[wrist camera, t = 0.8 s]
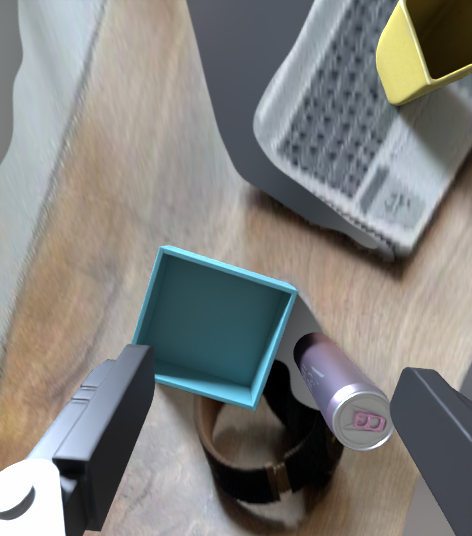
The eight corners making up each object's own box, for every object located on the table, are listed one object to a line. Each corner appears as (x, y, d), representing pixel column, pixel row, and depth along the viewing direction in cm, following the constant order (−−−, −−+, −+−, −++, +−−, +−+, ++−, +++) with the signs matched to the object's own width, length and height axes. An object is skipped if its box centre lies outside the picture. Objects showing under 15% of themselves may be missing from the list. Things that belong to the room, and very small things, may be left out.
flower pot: (356, 58, 34) (399, -6, 25) (420, 28, 34) (488, -47, 25) (379, 125, 35) (430, 86, 26) (443, 97, 35) (515, 48, 26)
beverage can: (327, 374, 39) (388, 459, 24) (287, 366, 39) (323, 446, 24) (338, 335, 38) (407, 397, 23) (298, 326, 38) (341, 384, 23)
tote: (289, 283, 37) (298, 290, 32) (252, 389, 39) (255, 411, 34) (169, 245, 37) (159, 246, 32) (136, 355, 38) (122, 372, 33)
